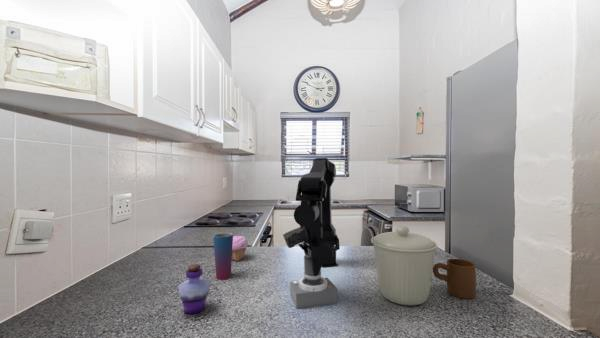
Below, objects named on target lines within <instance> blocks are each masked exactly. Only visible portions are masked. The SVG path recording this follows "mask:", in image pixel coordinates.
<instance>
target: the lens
mask: <svg viewBox="0 0 600 338" xmlns="http://www.w3.org/2000/svg"><path fill="white" fill-rule="evenodd" d="M303 260H304V261H303V262H304V263H303V264H304V267H303V269H304V272H303V277H304V278H305V282H307V283H312V284H314V283H319V282H320V281H321V277H322V268H321V269H320V271H319V274H318V276H314V275H313V269H312V263H311V258H310V257H309V256H308V255H307V254H306V255H305V254H304V256H303Z"/></svg>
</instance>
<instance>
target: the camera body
mask: <svg viewBox="0 0 600 338" xmlns="http://www.w3.org/2000/svg"><path fill="white" fill-rule="evenodd" d="M289 287H290V288H289V290H290V291H289V293H290V298H291V300H292V302H293V304H294V306H295V309H297V310H298V309H304V308H311V307H318V306H324V305H331V304H337V303H338V288H337V287H336V285H335V284H334V283H333V282H332V281H331V280H330V279H329V278H328V277H323V276H321V281H320V282H319V283H314V284H312V283H307V282H305V278H304V276H302V277H301V278H300V279H298V280H297V279H296V280H293V281H290V282H289Z"/></svg>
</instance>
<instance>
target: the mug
mask: <svg viewBox="0 0 600 338" xmlns="http://www.w3.org/2000/svg"><path fill="white" fill-rule="evenodd" d="M439 269H443V270H445V271H446V273H444V274H443V273H440V272H439ZM432 275H434V277H435V278H436V279H438V280H441V281H445V282H446V290H447V292H448V293H449V294H450V295H451V296H453V297H455V298H460V299H462V300H463V299H465V300H471V299H474V298H476V296H477V269H476V264H475V263H474V262H472V261H470V260H467V259H462V258H449V259H447V260H446V264H445V263H443V262H437V263H435V264H433V268H432Z"/></svg>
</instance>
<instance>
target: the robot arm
mask: <svg viewBox="0 0 600 338" xmlns="http://www.w3.org/2000/svg"><path fill="white" fill-rule="evenodd" d="M336 177H337V168H336V164H335V163H333V162H332V161H330V159H329V158H327V157H316V158H314V159H313V164H312V167H311V168H310V170H309V173H305V174H303V175H302V176H301V178H300V180H298V183H297V190H296V195H295V201H296V202H300V204H299V205H298V206H297V207H296V208H295V209H294V212H293V219H294V221H295V223H297V224H298V225H299V227H297V228H295V229H292V230H290V231H287V232H285V233H283V234H282V236H283V239H284V242H285V244H286V246H287V248H288V249H290V248H291V249H292V248H294V247H295V246H297V245H298V247H299V248H300V249H302V251H303V253H304V256H305V255H306V254H307V255H308V256H309V257H310V258H311V263H312V269H313V275H314V276H318V274H319V271H320V269H321V270H322V268H326V267H328V268H330V267H338V266H339V264H338V263H337V251H338V250H340V248H341V247H340V238H339V237H338V235H337V230H336V228H335V226H334V225H333V223H332V189H331V187H332V185H333V184H334V182H335V178H336Z"/></svg>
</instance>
